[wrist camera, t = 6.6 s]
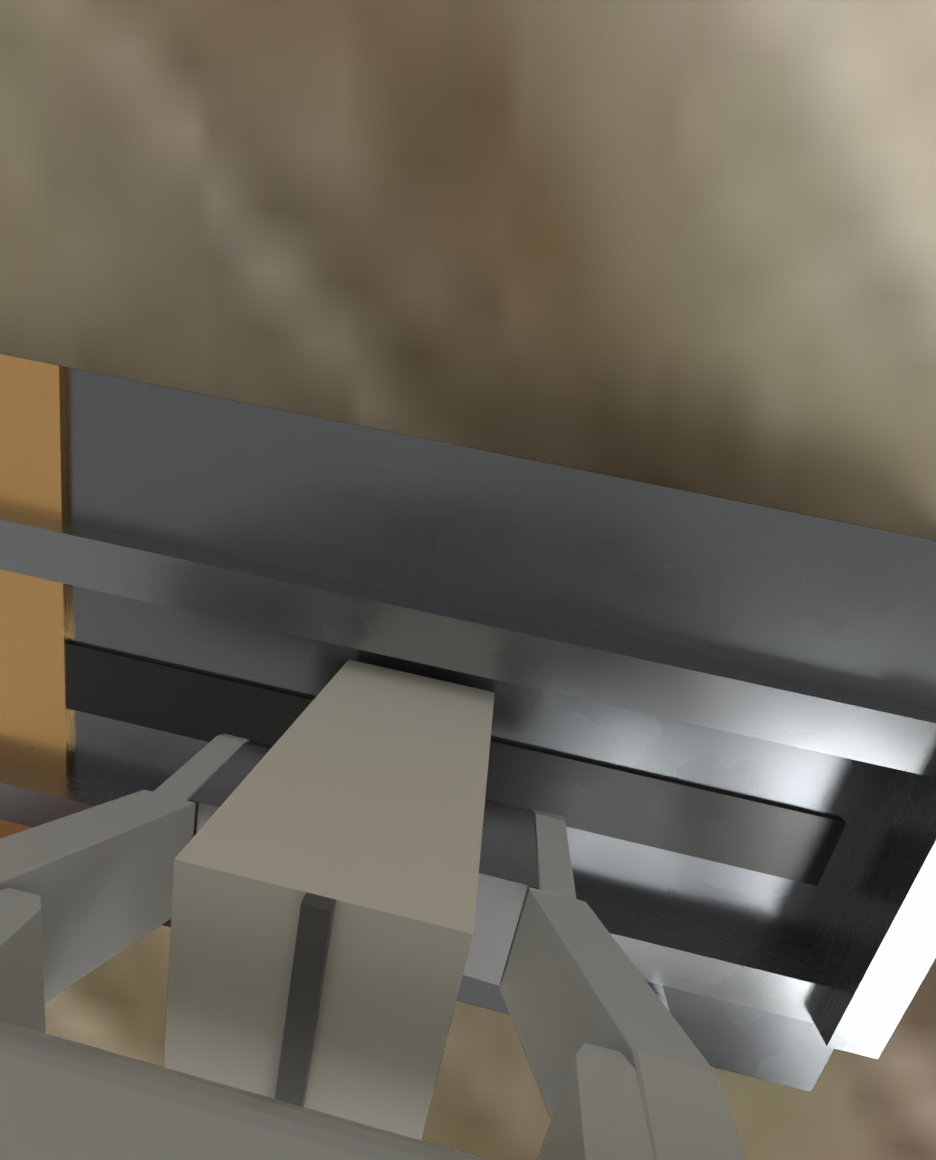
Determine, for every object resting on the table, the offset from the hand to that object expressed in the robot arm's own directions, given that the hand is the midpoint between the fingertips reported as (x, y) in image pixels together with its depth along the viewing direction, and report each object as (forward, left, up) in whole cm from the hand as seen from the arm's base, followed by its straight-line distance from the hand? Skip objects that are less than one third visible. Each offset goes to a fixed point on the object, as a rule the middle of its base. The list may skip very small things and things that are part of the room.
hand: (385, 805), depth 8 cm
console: (+2, 0, -4) cm, 5 cm away
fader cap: (0, 0, -2) cm, 2 cm away
